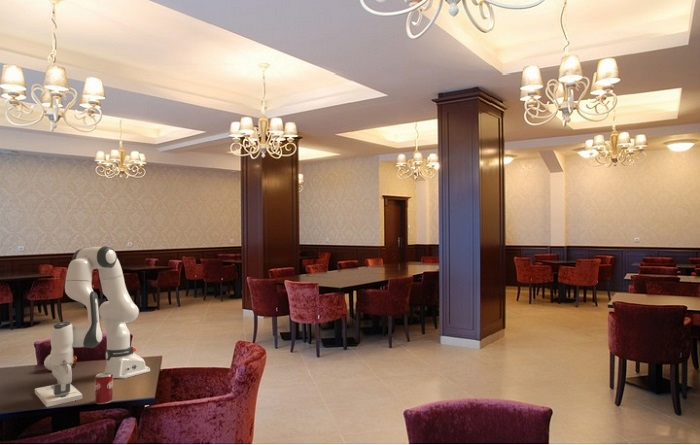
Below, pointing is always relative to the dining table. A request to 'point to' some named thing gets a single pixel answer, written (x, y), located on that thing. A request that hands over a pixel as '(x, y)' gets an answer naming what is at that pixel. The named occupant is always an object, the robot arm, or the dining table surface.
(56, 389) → the fader
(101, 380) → the soda can
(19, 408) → the dining table surface
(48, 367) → the potion bottle
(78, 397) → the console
